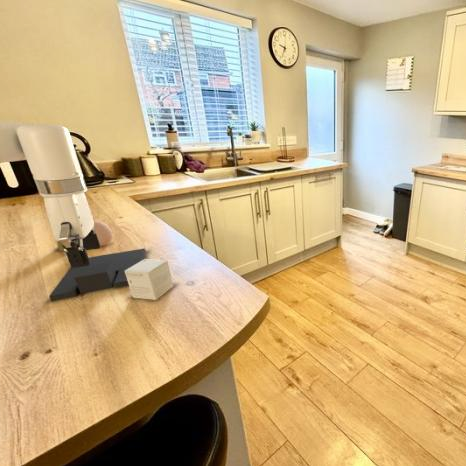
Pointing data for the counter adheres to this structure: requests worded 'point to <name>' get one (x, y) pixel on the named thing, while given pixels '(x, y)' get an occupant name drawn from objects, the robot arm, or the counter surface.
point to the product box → (149, 279)
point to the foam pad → (96, 277)
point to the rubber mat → (119, 260)
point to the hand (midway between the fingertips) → (87, 257)
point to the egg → (103, 233)
